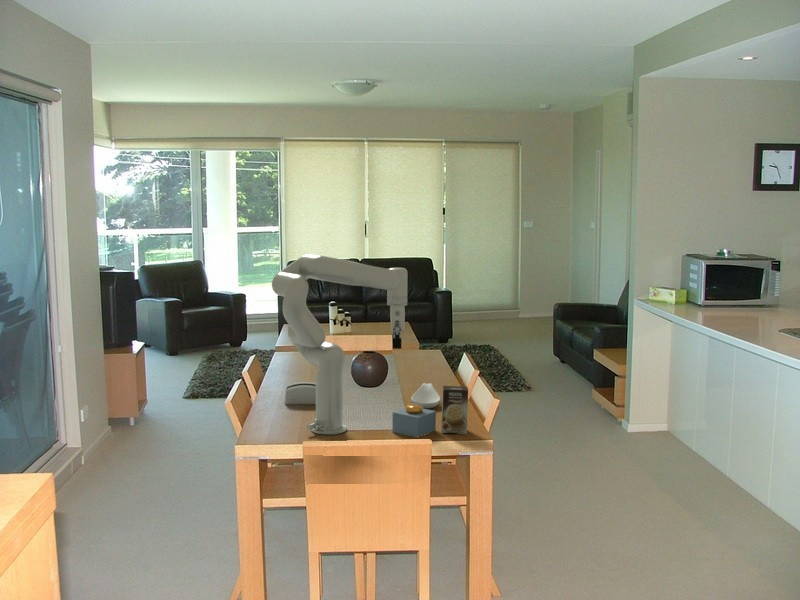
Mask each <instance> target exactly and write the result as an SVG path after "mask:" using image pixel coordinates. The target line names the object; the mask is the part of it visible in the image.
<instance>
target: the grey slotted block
mask: <svg viewBox="0 0 800 600" xmlns="http://www.w3.org/2000/svg"><path fill="white" fill-rule="evenodd" d="M284 395H285V396H284V404H285V405H316V382H311V381H310V382H309V381H308V382H307V381H304V382H303V381H301V382H294V383H291V384H287V386H286V388H285V394H284Z"/></svg>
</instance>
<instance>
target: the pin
mask: <svg viewBox="0 0 800 600" xmlns="http://www.w3.org/2000/svg"><path fill="white" fill-rule="evenodd" d="M405 408H406V412H407V413H409V414H420V413H422V412H423V409H424V408H423V406H422V405H419V404H413V403H411V404H407V405H405Z"/></svg>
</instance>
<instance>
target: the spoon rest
mask: <svg viewBox="0 0 800 600" xmlns="http://www.w3.org/2000/svg"><path fill="white" fill-rule="evenodd" d="M410 400H411V402H412V404H419V405H422V406H423V409H427V410H430V409H433V408H435V407H436V406H437V405H438V404H439V403H440V401H441V397H440V395H439V393H438V392H437V390H436V389H435V387H434V386H433V384H432V383H425V382H423V383H422V384H421V385H420V387H419V388H418V389H417V390H416V391H415V392H414V393H413V394H412V396H411V397H410Z"/></svg>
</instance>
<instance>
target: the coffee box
mask: <svg viewBox="0 0 800 600" xmlns="http://www.w3.org/2000/svg"><path fill="white" fill-rule="evenodd" d="M468 403H469V388H468V386H460V385H459V386H458V385H442V402H441V405H442V406H441V422H440V423H441V425H440V426H441V428H440V431H441V434H443V433H458V434H457V435H467V434H468V409H469V407H468V406H469V404H468Z"/></svg>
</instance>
